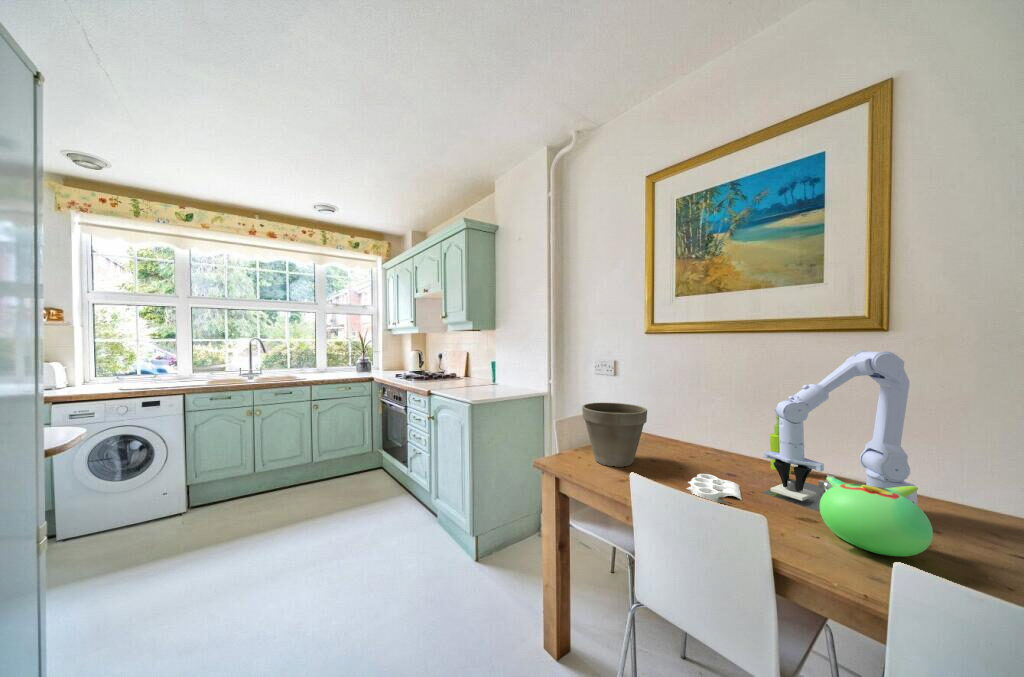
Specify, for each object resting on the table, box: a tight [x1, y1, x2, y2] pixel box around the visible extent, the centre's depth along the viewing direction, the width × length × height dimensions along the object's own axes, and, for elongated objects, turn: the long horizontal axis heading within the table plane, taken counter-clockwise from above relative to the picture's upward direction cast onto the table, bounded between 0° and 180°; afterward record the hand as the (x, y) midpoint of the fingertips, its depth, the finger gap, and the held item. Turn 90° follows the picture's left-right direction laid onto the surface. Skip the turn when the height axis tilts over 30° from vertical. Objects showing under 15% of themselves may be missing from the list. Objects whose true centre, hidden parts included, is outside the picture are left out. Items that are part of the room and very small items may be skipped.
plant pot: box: [581, 402, 648, 468], centre depth 144 cm, size 25×25×22 cm
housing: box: [761, 481, 825, 512], centre depth 108 cm, size 14×21×2 cm, turn 118°
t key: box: [818, 473, 836, 492], centre depth 111 cm, size 11×4×3 cm, turn 135°
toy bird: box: [819, 476, 934, 557], centre depth 82 cm, size 18×17×15 cm
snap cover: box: [770, 478, 816, 501], centre depth 106 cm, size 8×8×4 cm
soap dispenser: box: [769, 414, 792, 475], centre depth 131 cm, size 6×7×20 cm
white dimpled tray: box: [685, 473, 742, 506], centre depth 112 cm, size 3×18×15 cm
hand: (792, 488), depth 106 cm, fingers closed on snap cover, 3 cm apart
